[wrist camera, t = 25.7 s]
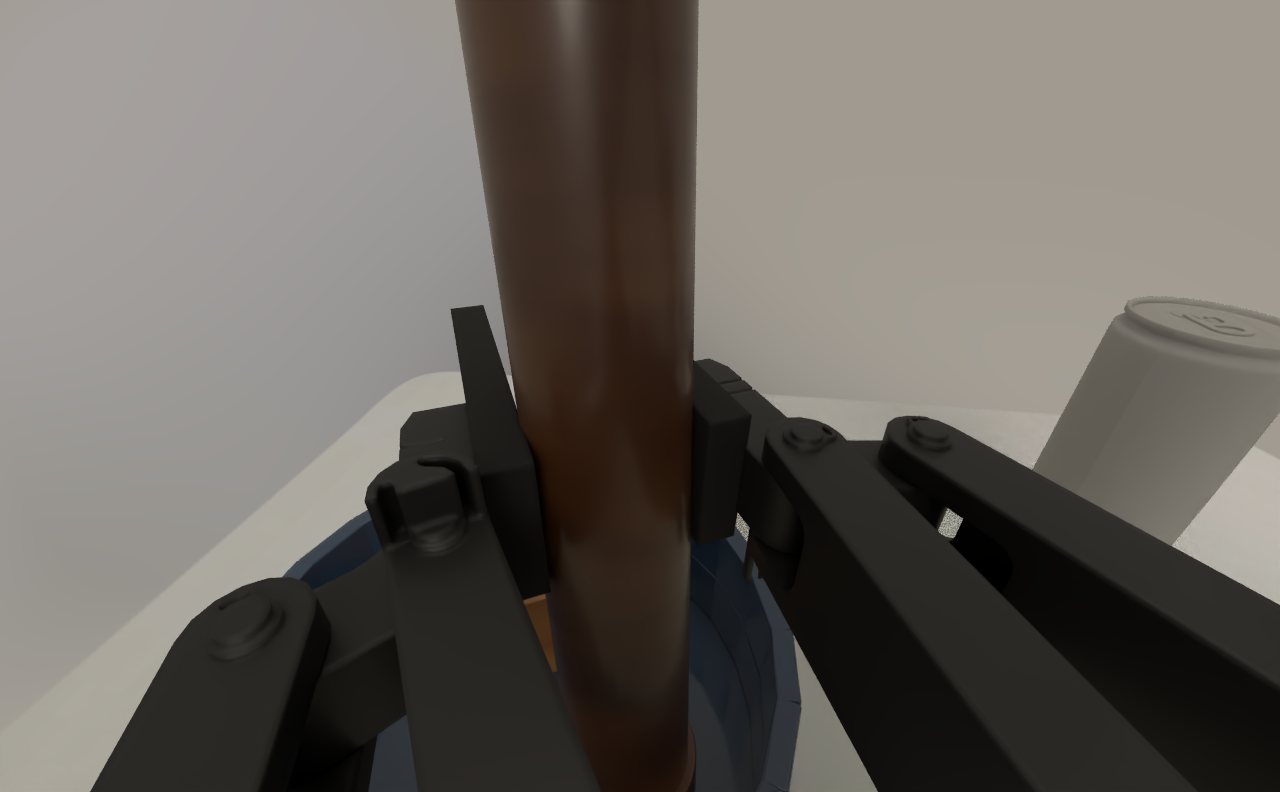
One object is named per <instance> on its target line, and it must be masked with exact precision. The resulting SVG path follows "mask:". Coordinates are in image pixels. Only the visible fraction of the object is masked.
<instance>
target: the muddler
mask: <svg viewBox="0 0 1280 792" xmlns="http://www.w3.org/2000/svg"><path fill="white" fill-rule="evenodd" d="M455 3H456V10H457V16H458V23H459V30H460V36H461V43H462V49H463V56H464V62H465V69H466V76H467V82H468V89H469V95H470V102H471V109H472V115H473V122H474V128H475V135H476V141H477V148H478V155H479V161H480V168H481V174H482V181H483V188H484V194H485V201H486V207H487V214H488V221H489V227H490V233H491V239H492V247H493V254H494V260H495V266H496V273H497V280H498V287H499V293H500V300H501V306H502V313H503V320H504V326H505V333H506V339H507V346H508V353H509V359H510V365H511V372H512V379H513V386H514V392H515V399H516V405H517V412H518V418H519V424H520V426H521V428H522V431H523V432H524V433H525V436H526V439H527V442H528V445H529V448H530V452H531V455H532V458H533V461H534V465H535V472H536V480H537V488H538V495H539V503H540V511H541V519H542V526H543V534H544V542H545V549H546V557H547V565H548V573H549V580H550V588H551V592H549V593H546V594H545V596H546V603H547V610H548V616H549V623H550V629H551V636H552V643H553V649H554V656H555V662H556V669H557V676H558V682H559V689H560V692H561V694H562V697H563V699H564V702H565V704H566V706H567V709H568V711H569V714H570V716H571V719H572V721H573V724H574V726H575V728H576V731H577V733H578V736H579V738H580V741H581V743H582V746H583V748H584V750H585V753H586V755H587V758H588V760H589V763H590V765H591V768H592V770H593V772H594V775H595V777H596V780H597V782H598V785H599V787H600V790H601V792H695V787H696V745H695V739H694V735H693V731H692V729H691V726H690V724H689V722H688V707H689V636H690V565H691V494H692V423H693V352H694V344H693V343H694V281H695V209H696V207H695V205H696V204H695V203H696V137H697V68H698V67H697V66H698V65H697V64H698V0H455Z"/></svg>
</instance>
